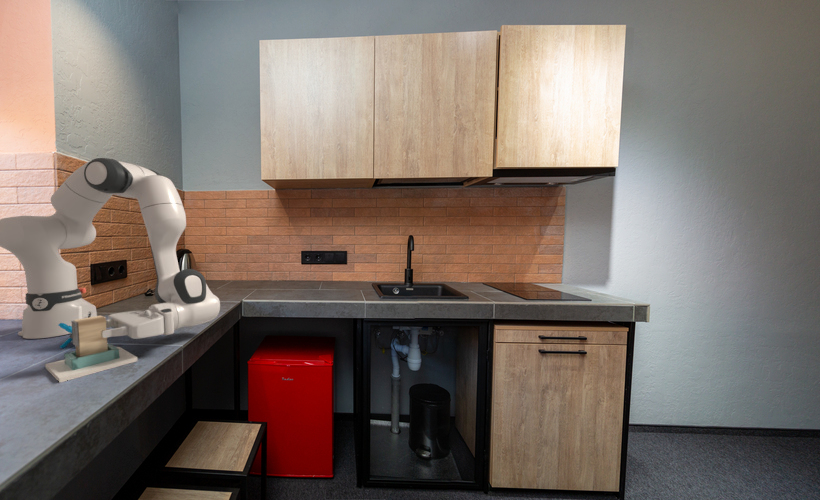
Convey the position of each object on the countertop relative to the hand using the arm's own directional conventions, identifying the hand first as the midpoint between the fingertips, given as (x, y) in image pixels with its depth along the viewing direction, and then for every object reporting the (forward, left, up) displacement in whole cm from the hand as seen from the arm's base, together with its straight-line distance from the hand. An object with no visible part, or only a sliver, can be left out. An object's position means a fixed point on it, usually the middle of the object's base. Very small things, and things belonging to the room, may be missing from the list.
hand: (95, 331), depth 81 cm
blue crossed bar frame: (-18, -14, -9) cm, 24 cm away
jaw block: (0, -1, -8) cm, 8 cm away
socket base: (+1, -1, -9) cm, 9 cm away
